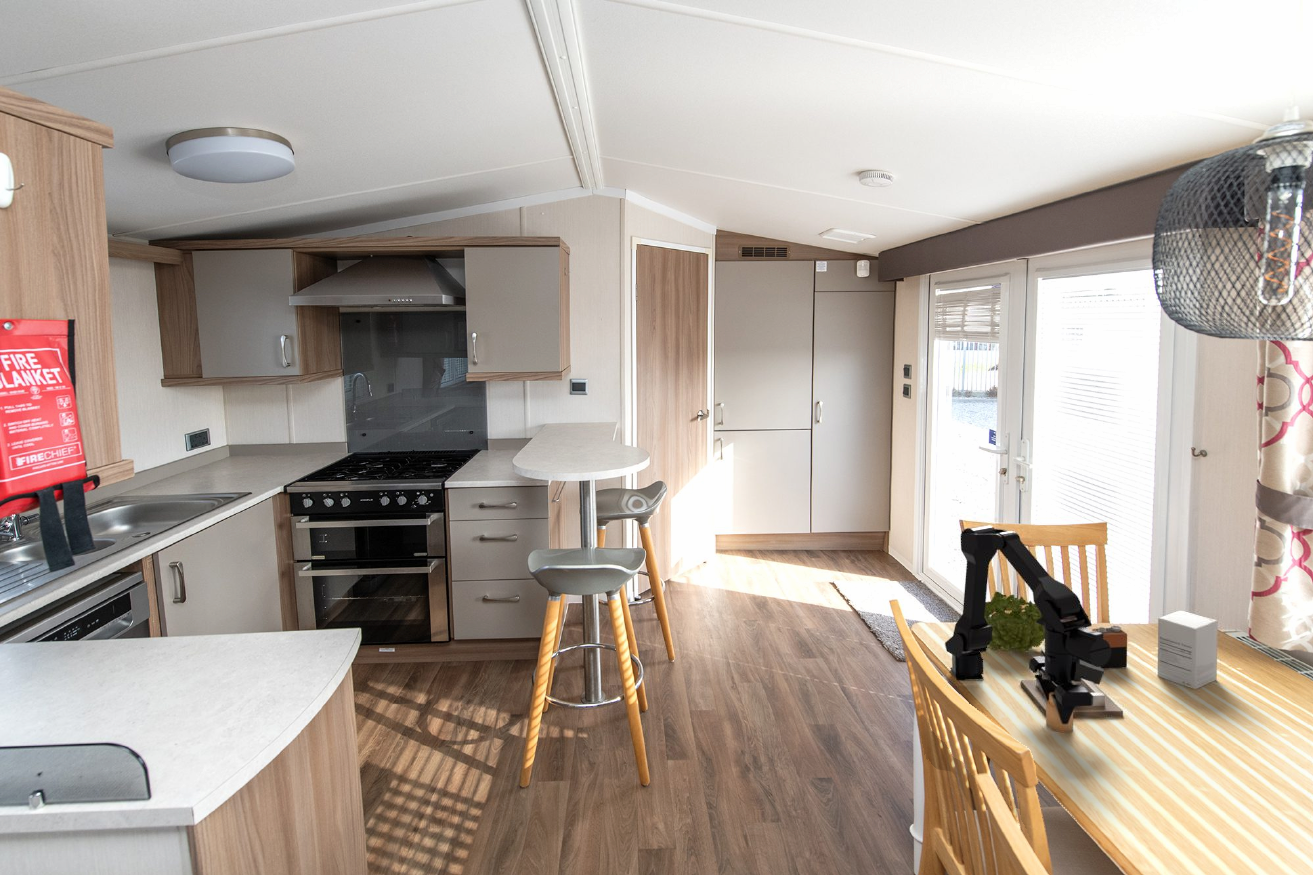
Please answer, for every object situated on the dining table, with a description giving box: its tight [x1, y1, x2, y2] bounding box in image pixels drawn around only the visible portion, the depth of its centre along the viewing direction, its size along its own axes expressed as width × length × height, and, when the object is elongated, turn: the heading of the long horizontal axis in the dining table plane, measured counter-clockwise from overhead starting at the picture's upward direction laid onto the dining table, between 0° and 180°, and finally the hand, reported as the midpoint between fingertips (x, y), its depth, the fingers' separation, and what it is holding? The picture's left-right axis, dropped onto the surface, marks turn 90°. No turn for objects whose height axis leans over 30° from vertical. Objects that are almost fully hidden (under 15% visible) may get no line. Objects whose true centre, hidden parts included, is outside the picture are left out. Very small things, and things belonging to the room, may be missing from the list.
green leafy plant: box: [985, 590, 1045, 654], centre depth 207 cm, size 18×16×16 cm
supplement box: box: [1157, 610, 1218, 690], centre depth 184 cm, size 9×9×15 cm
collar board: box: [1020, 678, 1124, 718], centre depth 179 cm, size 16×16×4 cm
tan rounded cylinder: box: [1045, 692, 1074, 733], centre depth 167 cm, size 5×5×7 cm
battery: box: [1091, 625, 1128, 670], centre depth 194 cm, size 4×7×10 cm, turn 88°
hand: (1059, 717), depth 167 cm, fingers closed on tan rounded cylinder, 5 cm apart
